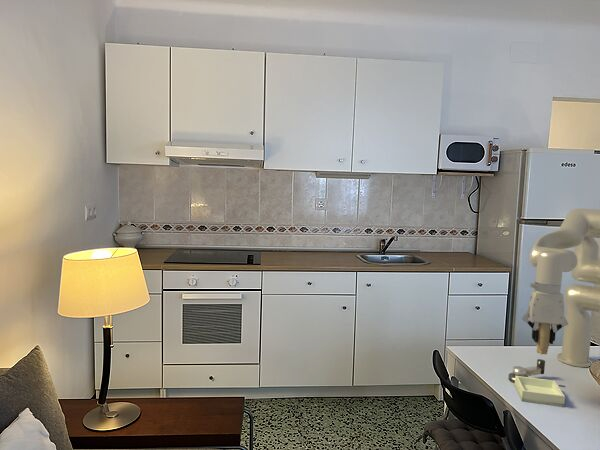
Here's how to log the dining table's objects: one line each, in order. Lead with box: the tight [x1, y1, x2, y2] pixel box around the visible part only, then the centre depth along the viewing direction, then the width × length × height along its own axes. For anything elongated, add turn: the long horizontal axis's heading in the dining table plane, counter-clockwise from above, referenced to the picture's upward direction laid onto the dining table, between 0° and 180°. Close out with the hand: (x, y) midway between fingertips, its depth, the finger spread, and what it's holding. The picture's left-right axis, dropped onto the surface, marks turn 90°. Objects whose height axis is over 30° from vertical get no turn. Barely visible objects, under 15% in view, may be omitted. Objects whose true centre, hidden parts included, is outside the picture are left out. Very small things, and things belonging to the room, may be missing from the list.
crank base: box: [507, 372, 566, 388], centre depth 171 cm, size 7×19×2 cm, turn 76°
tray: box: [514, 376, 566, 408], centre depth 161 cm, size 13×13×4 cm
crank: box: [512, 358, 546, 377], centre depth 174 cm, size 14×4×5 cm, turn 111°
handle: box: [535, 323, 551, 355], centre depth 158 cm, size 5×6×15 cm
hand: (542, 341), depth 159 cm, fingers closed on handle, 4 cm apart
